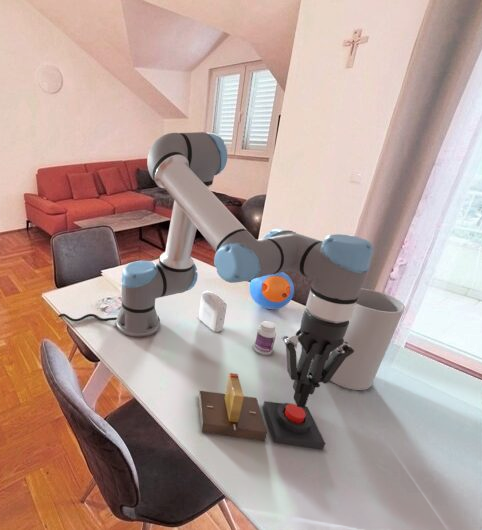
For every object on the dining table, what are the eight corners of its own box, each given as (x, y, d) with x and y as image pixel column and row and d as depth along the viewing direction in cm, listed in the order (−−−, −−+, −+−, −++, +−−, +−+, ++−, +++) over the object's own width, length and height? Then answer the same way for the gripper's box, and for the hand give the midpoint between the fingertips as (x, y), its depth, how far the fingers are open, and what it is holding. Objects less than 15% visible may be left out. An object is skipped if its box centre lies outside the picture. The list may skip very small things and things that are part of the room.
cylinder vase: (361, 365, 93) (391, 292, 83) (378, 396, 83) (415, 316, 73) (313, 356, 97) (336, 285, 87) (324, 385, 86) (352, 307, 76)
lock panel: (201, 434, 72) (203, 425, 71) (197, 397, 83) (199, 388, 81) (265, 444, 70) (268, 434, 69) (253, 404, 80) (256, 395, 79)
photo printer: (224, 330, 110) (229, 299, 105) (214, 333, 108) (219, 302, 103) (205, 315, 119) (209, 286, 114) (196, 318, 117) (200, 289, 112)
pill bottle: (273, 356, 97) (280, 330, 93) (255, 354, 98) (261, 328, 94) (269, 345, 102) (275, 320, 98) (252, 343, 103) (257, 318, 99)
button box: (274, 443, 70) (278, 430, 69) (262, 407, 79) (265, 395, 78) (322, 450, 69) (327, 437, 67) (305, 412, 78) (309, 401, 76)
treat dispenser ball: (283, 298, 130) (291, 265, 124) (294, 318, 116) (304, 282, 110) (243, 294, 133) (250, 261, 127) (250, 313, 120) (257, 277, 114)
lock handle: (238, 422, 72) (244, 395, 69) (229, 421, 72) (234, 394, 69) (232, 398, 78) (238, 373, 75) (224, 397, 78) (229, 372, 75)
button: (287, 422, 71) (289, 416, 71) (282, 408, 75) (283, 402, 74) (306, 424, 71) (308, 419, 70) (300, 410, 74) (301, 405, 74)
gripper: (353, 306, 64) (323, 393, 73) (285, 301, 66) (264, 386, 75) (375, 327, 57) (338, 420, 66) (298, 321, 59) (273, 411, 69)
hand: (299, 402), depth 71 cm, fingers closed
